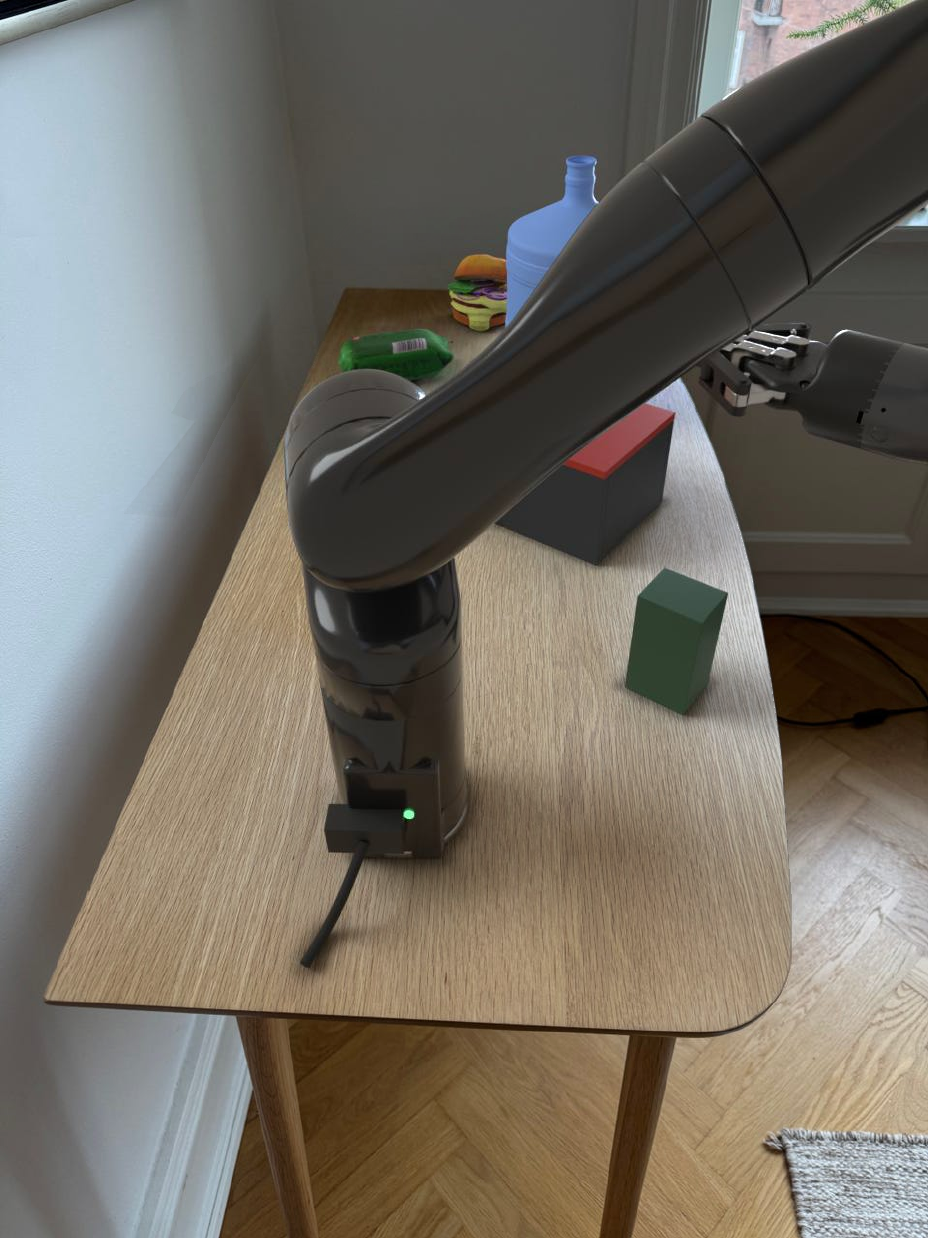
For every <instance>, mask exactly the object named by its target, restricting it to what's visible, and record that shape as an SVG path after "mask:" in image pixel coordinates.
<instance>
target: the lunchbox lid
mask: <svg viewBox="0 0 928 1238" xmlns="http://www.w3.org/2000/svg"><path fill="white" fill-rule="evenodd" d="M675 418H676V412H675V411H672V410H669V409H666V408H664V407H660V406H656V405H652V404H649V403H647V402H646V403H645V404H644V405H642V406H641V407H640V408H638V409H637V410H635V411H634V412H633V413H631V414H630V415H629V416H627V417H626V418H624V419H623V420H622V421H620V422H619V423H617V424H616V425H615V426H613V427H612V428H610V429H609V430H608V431H606V432H605V433H604V434H602V435H601V436H599V437H598V438H597V439H595V440H594V441H593V442H591V443H590V444H588V445H587V446H586V447H584V448H583V449H582V450H580V451H579V452H578V453H576V454H575V455H574V456H573V457H571V458H570V459H569V460H568V461H566V462H565V463H564V464H563V465H566V466H568V467H571V468H574V469H577V470H579V471H582V472H585V473H588V474H590V475H593V476H596V477H599V478H602V479H604V480H605V479H606V478H607V477H608V476H610V475H611V474H612V473H613V472H614V471H615V470H616V469H618V468H619V467H620V466H621V465H622V464H623V463H625V462H626V461H627V460H628V459H629V458H630V457H632V456H633V455H634V454H635V453H636V452H637V451H638V450H640V449H641V448H642V447H643V446H644V445H645V444H647V443H648V442H649V441H650V440H651V439H652V438H654V437H655V436H656V435H657V434H658V433H659V432H660V431H662V430H663V429H664V428H665V427H666V426H667V425H669V424H670V423H671V422H672V421H673V420H674V421H675Z"/></svg>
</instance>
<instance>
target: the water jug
mask: <svg viewBox="0 0 928 1238" xmlns="http://www.w3.org/2000/svg"><path fill="white" fill-rule="evenodd" d="M565 164H566V166H567V167H566V169H567V170H566V174H565V178H564V183H565V191H564V192H565V193H564V196H563V198H562V199H560V200H558V201H556V202H554V203H552V204H549V205H547V206H544V207H542V208H540V209H537V210H535V211H533V212H530V213H528V214H525V215H523V216H521V217H520V218H518V219H516V220H515V221H514V222H513V223H512V224H511V225H510V227H509V228H508V232H507V243H506V250H505V256H506V258H505V260H506V268H507V314H506V320H505V323H504V324H505V325H504V329H505V328H506V327H507V326H508V324H509V323H510V322H511V321H512V320H513V318H514V317H515V316H516V314H517V313H518V312H519V310H520V309H521V308H522V306H523V305H524V304H525V302H526V301H527V299H528V298H529V297H530V295H531V294H532V293H533V291H534V290H535V288H536V287H537V285H538V284H539V283H540V281H541V280H542V278H543V277H544V275H545V274H546V273H547V271H548V270H549V268H550V267H551V265H552V264H553V262H554V261H555V259H556V258H557V256H558V255H559V253H560V252H561V250H562V249H563V247H564V246H565V245H566V243H567V242H568V240H569V239H570V238H571V236H572V235H573V234H574V232H575V231H576V230H577V228H578V227H579V225H580V224H581V223H582V222H583V220H584V219H585V218H586V216H587V215H588V214H589V213H590V212H591V210H592V209H593V208H594V207H595V206H596V204H597V203H598V202H599V201H598V200H596V198H595V195H594V189H595V183H596V174H595V166H596V164H597V159H596V157H594V156H590V155H574V156H569V157H567V158H566V160H565Z"/></svg>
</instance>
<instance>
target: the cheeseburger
mask: <svg viewBox="0 0 928 1238" xmlns="http://www.w3.org/2000/svg"><path fill="white" fill-rule="evenodd" d="M453 278H454V280H455V281H453V282H452V283H448V284H447V287H446V289H448V291H449V292H448V293H449V296H450V299H451V300H452V301H451V302H450V305H451V306H452V308H451V309H452V310H451V311H452V315H453V318H454V320H456V321H457V322H459V323H461V324H462V325H465V326H468V328H470V329H471V330H473V331H476V332H486V331H487V330H489V329H490V328H493V327H496V326H501V325H503V324H505V320H506V314H507V268H506V258H500V257H495V256H492V255H489V254H471V255H467V256H466V257H465V258H464V259H462V260H461V261H460V263H459V265H458V266H457V268H456V270H455V273H454V276H453Z"/></svg>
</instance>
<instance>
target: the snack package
mask: <svg viewBox="0 0 928 1238" xmlns="http://www.w3.org/2000/svg"><path fill="white" fill-rule="evenodd" d="M449 343H450V344H453V343H454V341H453V340H452V341H449V339H448V338H446V337H445V336H444V335H443V336H441V335H439V334H436V333H435V332H433V331H431V330H428V329H424V328H411V329H404V330H396V331H388V332H380V333H373V334H372V333H371V334H365V335H359V336H354V337H352V338H349V339H347V341H345V342H344V343H343V344H342V346H341V348H340V351H339V355H338V359H337V364H338V367H340V370H341V372H345V371H349V370H356V369H378V370H383V371H387V372H391V373H394V374H396V375H399V376H401V377H403V378H405V379H407V380H409V381H411V382H413V381H419V380H425V379H429V378H432V377H436V376H438V375H439V374H440V373H441V372H442V371H443V370H444V369H445V368H446V367H447V366H448V365H449V364H450V363H451V362H452V361H453V360H454V358H455V356H454V352H452V350H451V349H449V346H448V344H449Z"/></svg>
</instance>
